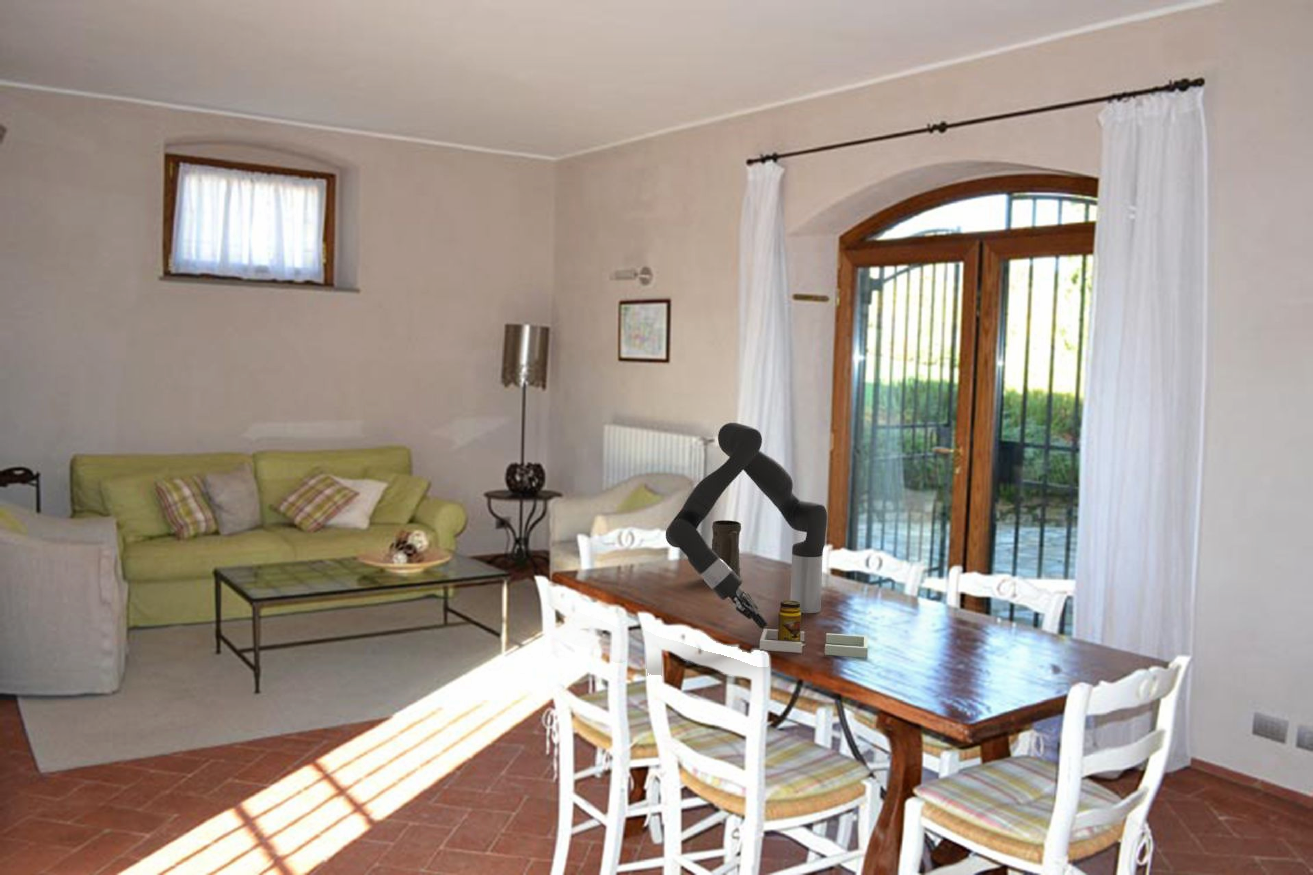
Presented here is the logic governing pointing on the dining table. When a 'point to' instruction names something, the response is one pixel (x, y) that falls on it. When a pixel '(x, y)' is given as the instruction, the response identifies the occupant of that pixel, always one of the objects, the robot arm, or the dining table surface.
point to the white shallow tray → (846, 650)
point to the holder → (779, 642)
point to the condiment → (789, 622)
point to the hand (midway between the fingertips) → (764, 626)
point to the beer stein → (727, 543)
